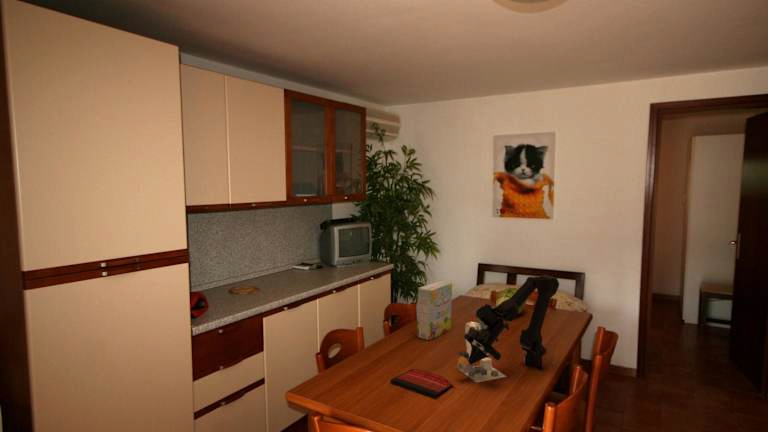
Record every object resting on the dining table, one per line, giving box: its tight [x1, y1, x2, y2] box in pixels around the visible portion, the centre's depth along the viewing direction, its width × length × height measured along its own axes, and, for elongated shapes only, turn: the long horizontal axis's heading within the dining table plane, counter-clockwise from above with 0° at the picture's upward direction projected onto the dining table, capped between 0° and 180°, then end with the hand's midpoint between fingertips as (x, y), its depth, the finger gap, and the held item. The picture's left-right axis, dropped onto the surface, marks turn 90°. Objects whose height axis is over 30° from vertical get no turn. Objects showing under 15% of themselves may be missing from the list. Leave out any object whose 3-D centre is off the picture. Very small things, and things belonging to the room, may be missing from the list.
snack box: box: [416, 280, 453, 341], centre depth 225 cm, size 22×9×26 cm, turn 143°
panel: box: [457, 361, 507, 383], centre depth 177 cm, size 14×14×4 cm
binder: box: [390, 368, 454, 400], centre depth 170 cm, size 16×2×21 cm
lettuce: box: [495, 287, 527, 315], centre depth 255 cm, size 15×27×16 cm, turn 144°
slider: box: [479, 357, 493, 370], centre depth 180 cm, size 4×2×4 cm, turn 111°
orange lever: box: [457, 356, 477, 377], centre depth 171 cm, size 2×3×10 cm
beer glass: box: [464, 321, 481, 357], centre depth 195 cm, size 7×7×15 cm
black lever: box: [458, 350, 469, 367], centre depth 179 cm, size 2×3×7 cm
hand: (468, 363), depth 171 cm, fingers closed, pressing on orange lever
